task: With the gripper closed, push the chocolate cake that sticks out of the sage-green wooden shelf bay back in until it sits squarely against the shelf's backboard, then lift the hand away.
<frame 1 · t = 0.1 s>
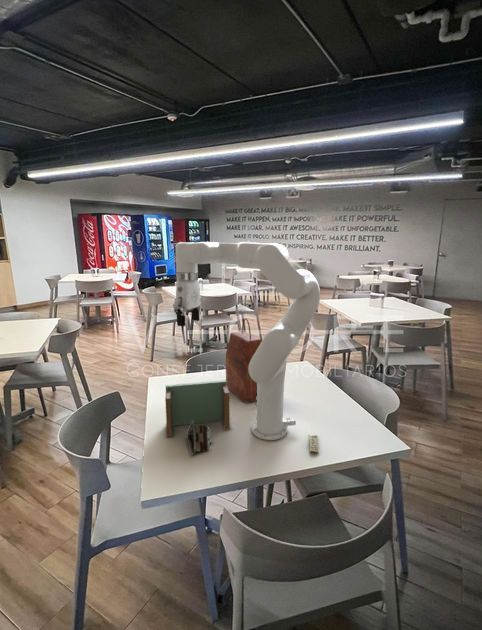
hand: (188, 323, 125), 37 cm above the table, tool pointing down, fingers open, 9 cm apart
snack bar: (313, 445, 113), on the table
cubby shelf: (198, 427, 123), on the table
handbag: (245, 393, 152), on the table
chocolate cake: (200, 445, 112), on the table
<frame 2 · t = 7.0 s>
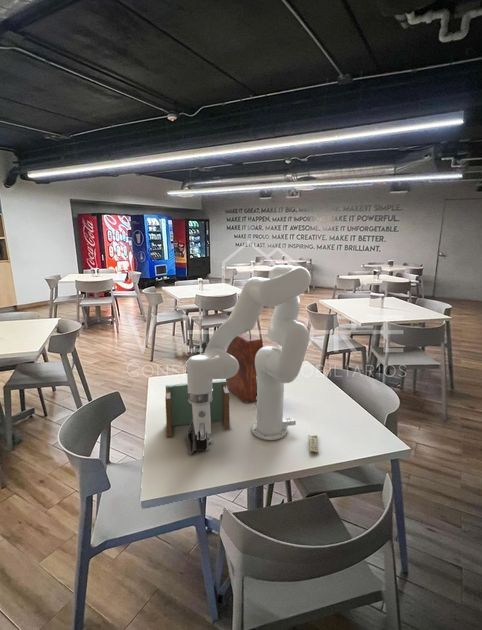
hand: (201, 448, 107), 2 cm above the table, tool pointing down, fingers closed
chocolate cake: (200, 444, 113), on the table, touching gripper
everything else where it was.
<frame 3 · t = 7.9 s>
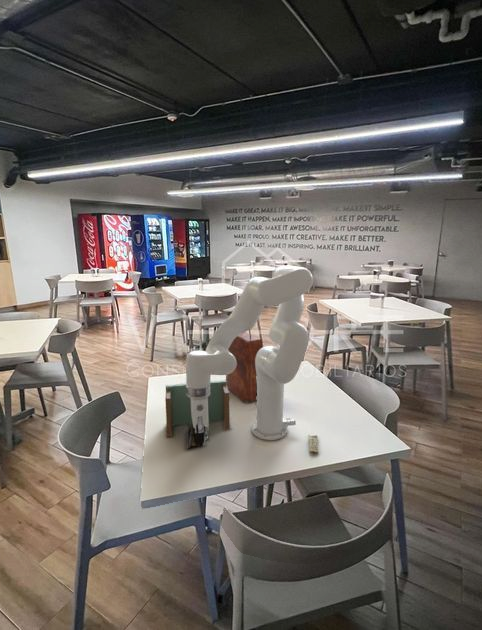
hand: (198, 441, 110), 3 cm above the table, tool pointing down, fingers closed
chocolate cake: (198, 440, 115), on the table, touching gripper
everything else where it was.
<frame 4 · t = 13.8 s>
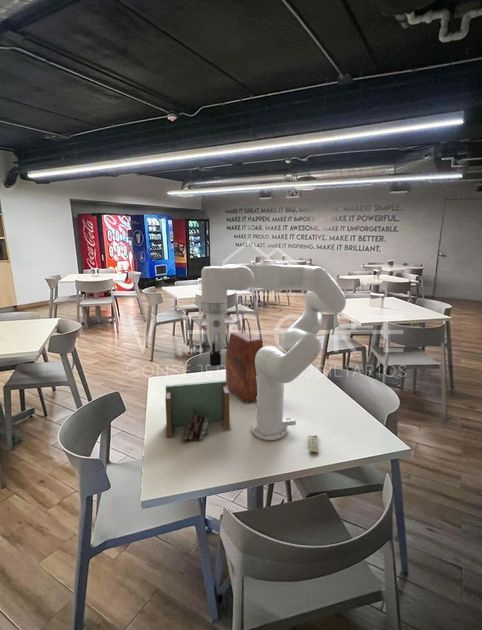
hand: (215, 364, 105), 29 cm above the table, tool pointing down, fingers closed
chocolate cake: (196, 434, 119), on the table
everything else where it was.
at the end: chocolate cake 1.4 cm from the target spot, on the table; chocolate cake tilted 0°; chocolate cake moved 6.9 cm from its start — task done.
